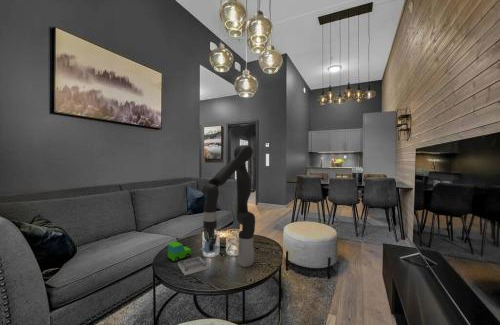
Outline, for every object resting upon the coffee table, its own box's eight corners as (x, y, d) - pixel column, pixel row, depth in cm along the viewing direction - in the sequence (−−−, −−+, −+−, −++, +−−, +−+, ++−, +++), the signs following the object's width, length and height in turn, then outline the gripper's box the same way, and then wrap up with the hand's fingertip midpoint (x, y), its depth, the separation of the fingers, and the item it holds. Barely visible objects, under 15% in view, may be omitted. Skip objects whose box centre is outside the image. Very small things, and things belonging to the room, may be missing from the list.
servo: (216, 249, 126) (216, 239, 126) (218, 251, 123) (219, 241, 123) (199, 251, 121) (200, 241, 121) (202, 254, 118) (203, 244, 118)
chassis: (199, 259, 141) (199, 254, 141) (207, 268, 129) (207, 263, 129) (177, 265, 133) (178, 259, 133) (184, 275, 121) (184, 269, 121)
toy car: (192, 256, 145) (193, 242, 145) (174, 263, 135) (174, 247, 135) (184, 252, 152) (185, 238, 152) (166, 258, 142) (167, 243, 142)
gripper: (221, 221, 118) (221, 252, 118) (211, 215, 130) (211, 243, 130) (208, 223, 114) (208, 255, 114) (199, 217, 125) (199, 246, 126)
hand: (209, 249), depth 122 cm, fingers closed on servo, 3 cm apart
